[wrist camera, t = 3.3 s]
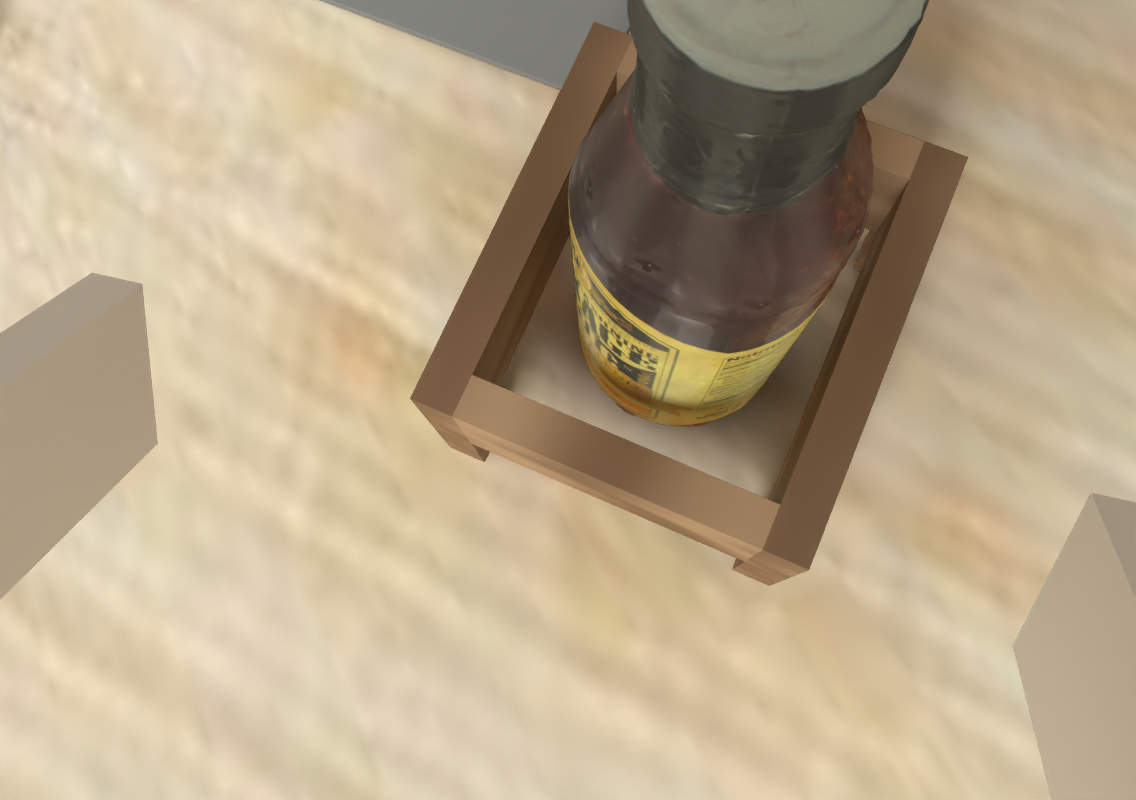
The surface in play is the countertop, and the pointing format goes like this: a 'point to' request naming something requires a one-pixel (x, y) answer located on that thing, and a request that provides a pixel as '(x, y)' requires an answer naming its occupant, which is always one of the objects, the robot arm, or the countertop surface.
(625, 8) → the slate mat
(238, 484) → the countertop surface
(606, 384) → the sauce bottle
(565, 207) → the wooden square frame
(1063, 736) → the robot arm
